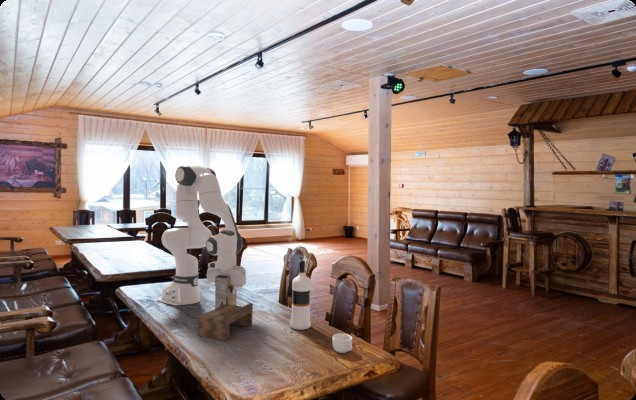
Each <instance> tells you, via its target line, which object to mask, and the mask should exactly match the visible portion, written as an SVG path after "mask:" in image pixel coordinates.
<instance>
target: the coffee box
mask: <svg viewBox="0 0 636 400" xmlns="http://www.w3.org/2000/svg"><path fill="white" fill-rule="evenodd" d="M214 287H215V288H214V289H215V290H214V291H215V292H214V293H215V295H214V296H215V298H214V299H215V300H214V301H215V302H214V309H216V308H218V307H220V306H223V305H225V304H229V305H236V306H237V291H238V290H237V289H238V288H237V289H236V290H235V294H234V295H233V294H231V290H233V289H234V288H233V285H230V276H225V275H218V276H216V284H215V283H214Z"/></svg>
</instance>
